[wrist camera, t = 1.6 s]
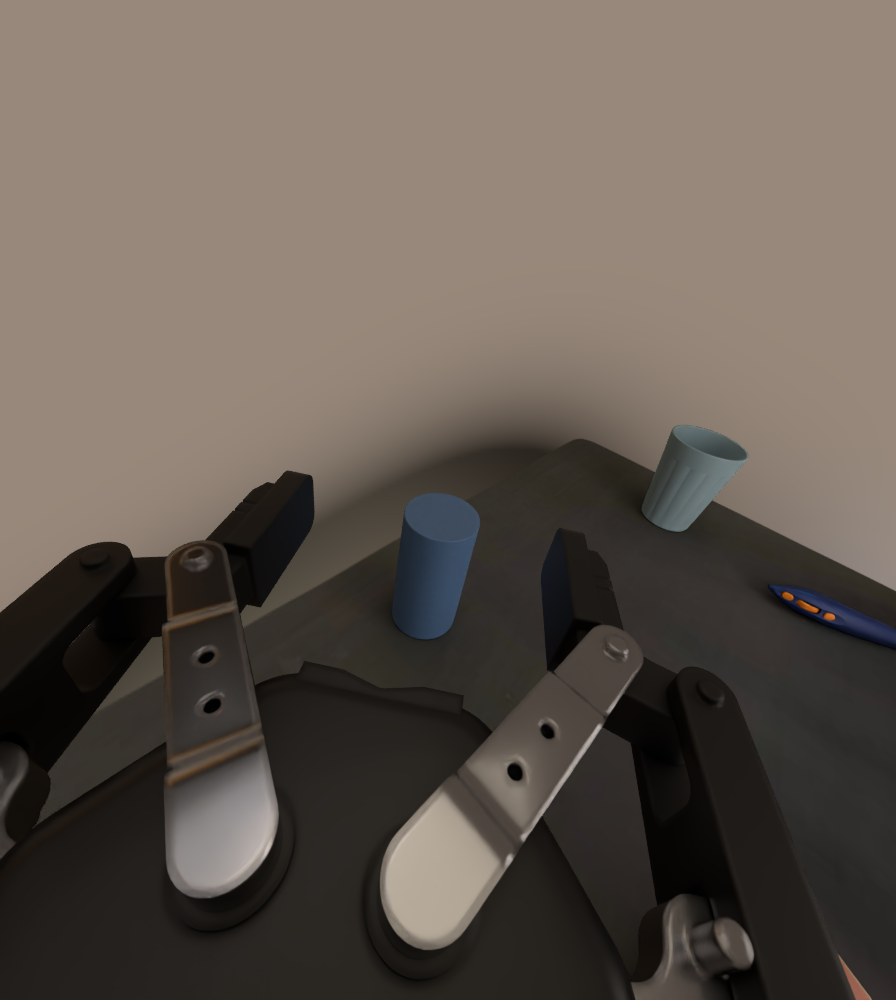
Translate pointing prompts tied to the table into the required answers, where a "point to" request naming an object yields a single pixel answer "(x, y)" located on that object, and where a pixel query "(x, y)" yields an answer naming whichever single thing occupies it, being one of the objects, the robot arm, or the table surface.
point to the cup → (690, 475)
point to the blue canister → (432, 563)
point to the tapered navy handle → (835, 614)
